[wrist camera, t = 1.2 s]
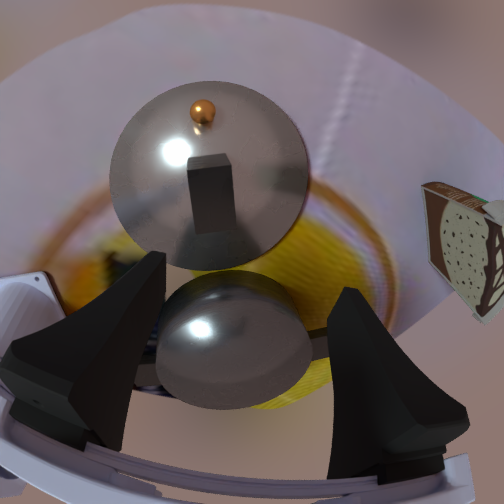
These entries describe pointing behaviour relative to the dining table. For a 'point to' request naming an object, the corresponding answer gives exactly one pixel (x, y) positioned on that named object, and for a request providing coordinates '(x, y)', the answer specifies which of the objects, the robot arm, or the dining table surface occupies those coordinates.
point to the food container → (467, 245)
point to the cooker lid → (208, 175)
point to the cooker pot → (230, 342)
